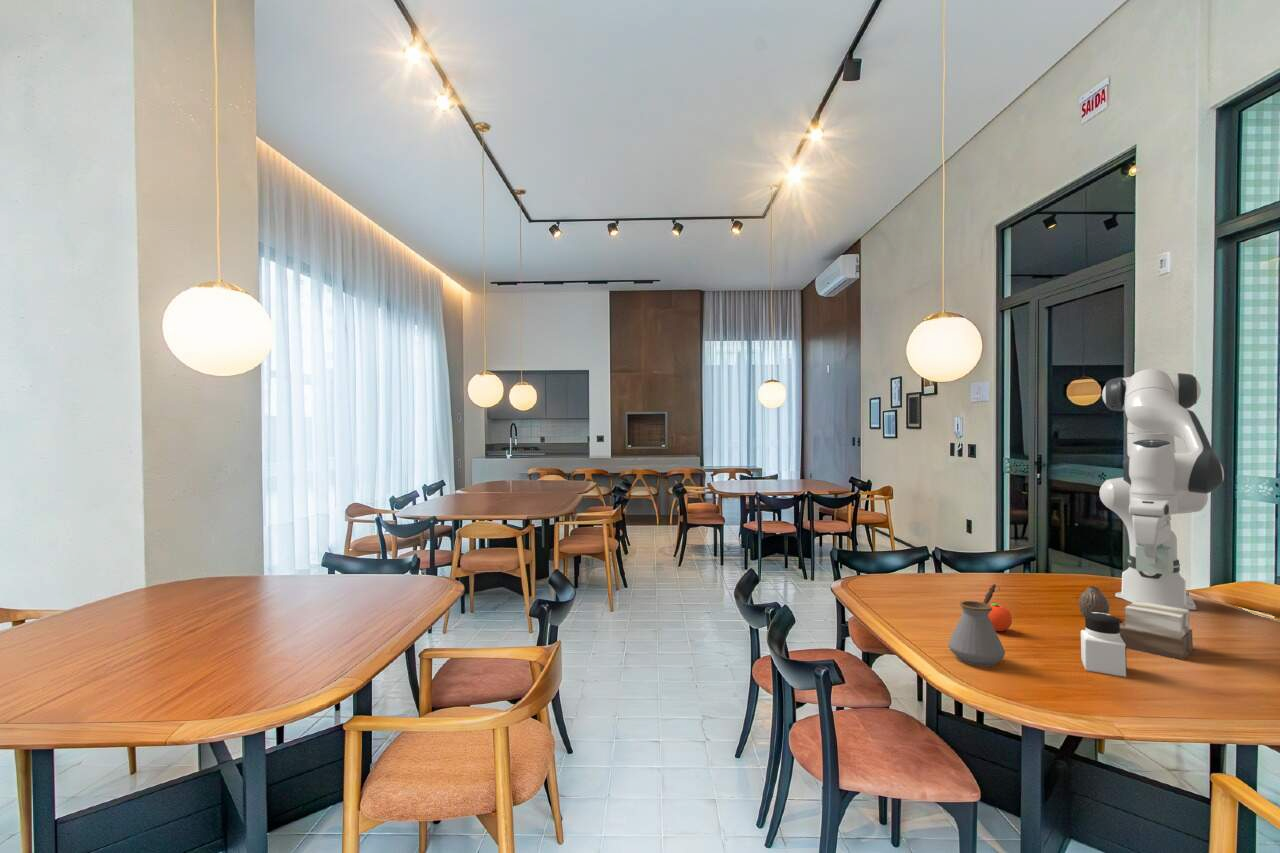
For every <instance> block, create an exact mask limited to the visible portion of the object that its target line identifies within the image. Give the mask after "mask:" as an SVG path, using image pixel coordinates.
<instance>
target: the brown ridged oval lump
mask: <svg viewBox="0 0 1280 853" xmlns="http://www.w3.org/2000/svg"><path fill="white" fill-rule="evenodd" d="M1101 591H1102V590H1101V589H1100V587H1098V586H1093V585H1089V586H1087V588H1086V589H1085V590H1084V591H1083V592H1082V593H1081V595H1079V598H1078V608H1079V611H1080V612H1081V613H1082V615H1083V616H1084V617H1085V615H1086V614H1088V613H1092V612H1097V613H1105V614H1110V603H1109V600H1108V598H1107V597H1106V595H1105V594H1103V592H1101Z"/></svg>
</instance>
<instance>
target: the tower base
mask: <svg viewBox="0 0 1280 853" xmlns="http://www.w3.org/2000/svg"><path fill="white" fill-rule="evenodd" d="M1120 637H1121V638H1122V640H1123V641H1124V643H1125V644H1126V649H1128V650H1133V651H1138V652H1142V653H1147V654H1151V655H1156V656H1159V655H1160V656H1161V657H1163V658H1164V657H1165V658H1169V659H1173V658H1174V660H1177V659H1178V661H1181V662H1184V661H1185V660H1186V659H1187V657H1188V656H1189V655H1190V654H1191V652H1192V650H1193V647H1194V645H1193V629H1190V628H1189V631H1188V632H1187V633H1186V634H1185V635H1184V636H1183V637H1182V638H1181V639H1177V638H1173V637H1168V636H1163V635H1158V634H1153V633H1149V632H1144V631H1139V630H1134V629H1129V628H1126V627H1125V620H1124V621H1123V622H1122V623H1120ZM1160 656H1159V657H1160Z"/></svg>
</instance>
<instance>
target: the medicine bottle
mask: <svg viewBox="0 0 1280 853" xmlns="http://www.w3.org/2000/svg"><path fill="white" fill-rule="evenodd" d="M1084 620H1085V624H1084V628H1085V629H1081V630H1080V653H1081V654H1080V658H1081V662H1082V664H1083V665H1082V666H1083V667H1084V669H1085V671H1088V672H1093V673H1099V674H1106V675H1112V676H1116V677H1122V676H1123V677H1124V678H1125V677H1126V678H1127V674H1128V673H1127V670H1128V669H1127V667H1128V666H1127V648H1126V644H1125V643H1124V641H1123V640H1122V638H1121V637H1120V625H1121V622H1120V619H1119V618H1118V617H1116V616H1114V615H1112V614H1110V613H1108V614H1105V613H1097V612H1092V613H1088V614H1086V615H1085V616H1084ZM1123 677H1122V678H1123Z"/></svg>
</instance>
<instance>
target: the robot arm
mask: <svg viewBox="0 0 1280 853" xmlns="http://www.w3.org/2000/svg"><path fill="white" fill-rule="evenodd" d="M1201 392H1202V388H1201V385H1200V382H1199V381H1198V380H1197V377H1195V375H1193V374H1189V373H1179V372H1178V373H1177V374H1176V373H1173V374H1172V373H1166V372H1164V371H1163V370H1160V369H1156V368H1148V369H1147V368H1146V369H1142V370H1139V371H1137V372H1135V373H1134V374H1132V375H1131V376H1128V377H1127V376H1126V377H1121V376H1119V377H1116V378H1111V379H1109V380H1108V381H1106V382H1105V385H1104V387H1103V389H1102V393H1101V394H1102V396H1101V397H1102V401H1103V402H1104V404H1105V406H1106V408H1108V410H1110V411H1116V412H1123V411H1125V416H1126V418H1127V423H1126V426H1127V427H1126V435H1127V436H1126V445H1127V446H1126V448H1127V452H1126V454H1127V457H1126V458H1125V459H1124V460H1123V461H1122V465H1123V477H1116V478H1109V479H1106V480H1105V481H1104V482H1103V483H1102V484H1101V486H1100V488H1099V499H1100V501H1101V502H1102V504H1103V505H1104V506H1105V507H1106V508H1108V509H1109V510H1111V511H1112V512H1113V513H1115V514H1116V515H1117V516H1118V518H1120V519H1121V521H1122V522H1123V524H1124V526H1125V528H1126V530H1127V535H1128V536H1127V537H1128V544H1129V545H1128V546H1129V553H1128V555H1127V565H1128V568H1127V569H1125V570H1124V571H1122V574H1121V591H1119V592H1116V593H1115V597H1116V598H1120V599H1123V600H1125V601H1126V602H1129V603H1133V602H1134V601H1142V602H1148V603H1153V604H1159V605H1165V606H1170V607H1176V608H1181V609H1187V610H1192V611H1193V610H1197V606H1196V604H1195V602H1194V600H1193V597H1192V596H1190V592H1189V591H1187V587H1186V586H1187V583H1186V580H1185V579H1184V577H1182V575H1181V573H1180V571H1181V563H1180V560H1179V559H1178V540H1177V539H1178V538H1177V536H1176V534H1175V532H1174V531H1173V530H1172V529H1171V527H1172V526H1171V520H1172V515H1181V514H1191V513H1198V512H1201V511H1202V510H1203V509H1204V508H1205V506H1206V505H1207V504H1208V502H1209V500H1208V499H1209V495H1208V494H1209V493H1212V492H1214V491H1216V490H1217V489H1219V488H1221V487H1222V485H1223V484H1224V483H1223V482H1224V479H1225V472H1224V467H1223V465H1222V463H1221V461H1220V460H1219V458H1218V456H1217V454H1216V453H1215V452H1214V450H1213V447H1212V445H1211V443H1210V441H1209V439H1208V437H1207V434H1206V432H1205V430H1204V428H1203V425H1202V424H1201V421H1200V419H1199V417H1198V416H1197V415H1196V413H1195V412H1194V411H1193V410H1191V407H1193V406H1195V405H1196V404H1197V402H1198V400H1199V398H1200V396H1201ZM1175 437H1177V438H1179V439H1180V440H1182V441H1183V442H1184V444H1185V446H1186V449H1187V451H1188V452H1176V444H1175ZM1159 545H1161V546H1170V547H1173V572H1172V573H1171V574H1169V575H1165V574H1158V573H1150V572H1143V571H1136V546H1141V547H1144V552H1145V556H1146V563H1148V564H1155V563H1156V562H1157V556H1156V547H1157V546H1159Z"/></svg>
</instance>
